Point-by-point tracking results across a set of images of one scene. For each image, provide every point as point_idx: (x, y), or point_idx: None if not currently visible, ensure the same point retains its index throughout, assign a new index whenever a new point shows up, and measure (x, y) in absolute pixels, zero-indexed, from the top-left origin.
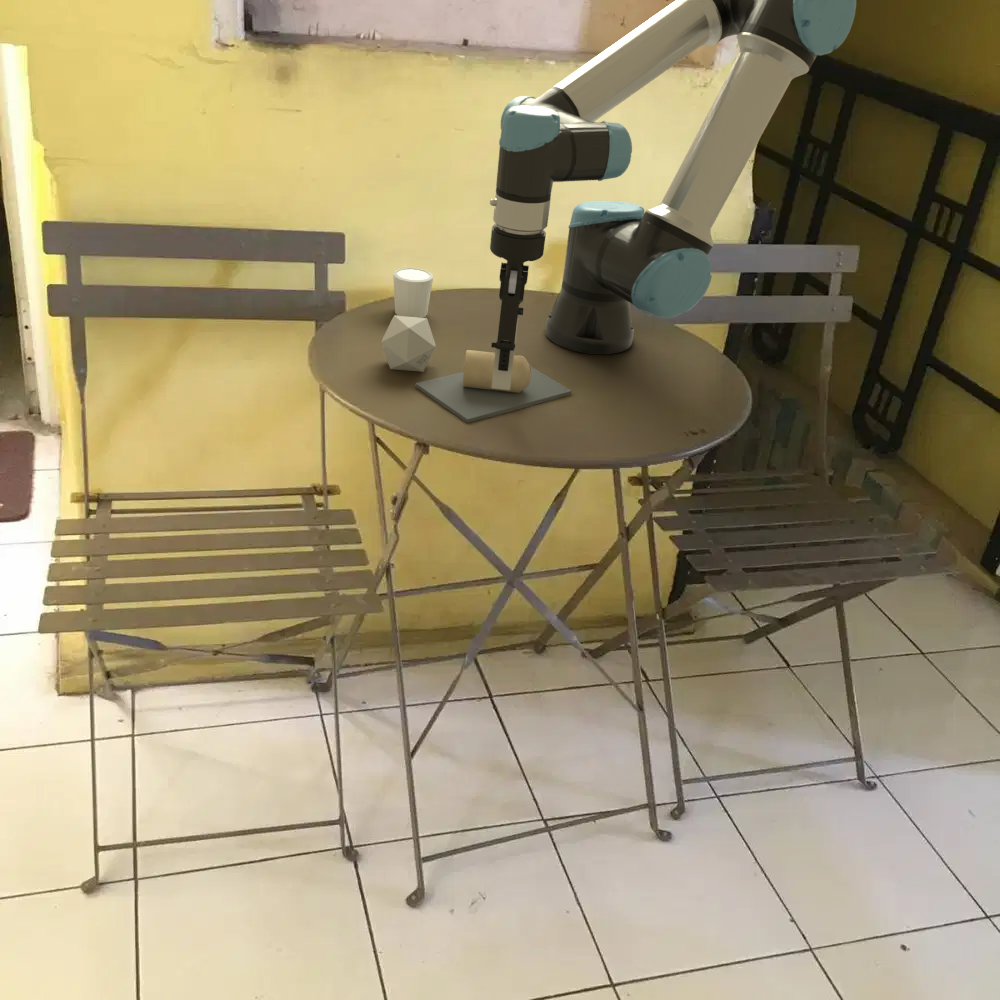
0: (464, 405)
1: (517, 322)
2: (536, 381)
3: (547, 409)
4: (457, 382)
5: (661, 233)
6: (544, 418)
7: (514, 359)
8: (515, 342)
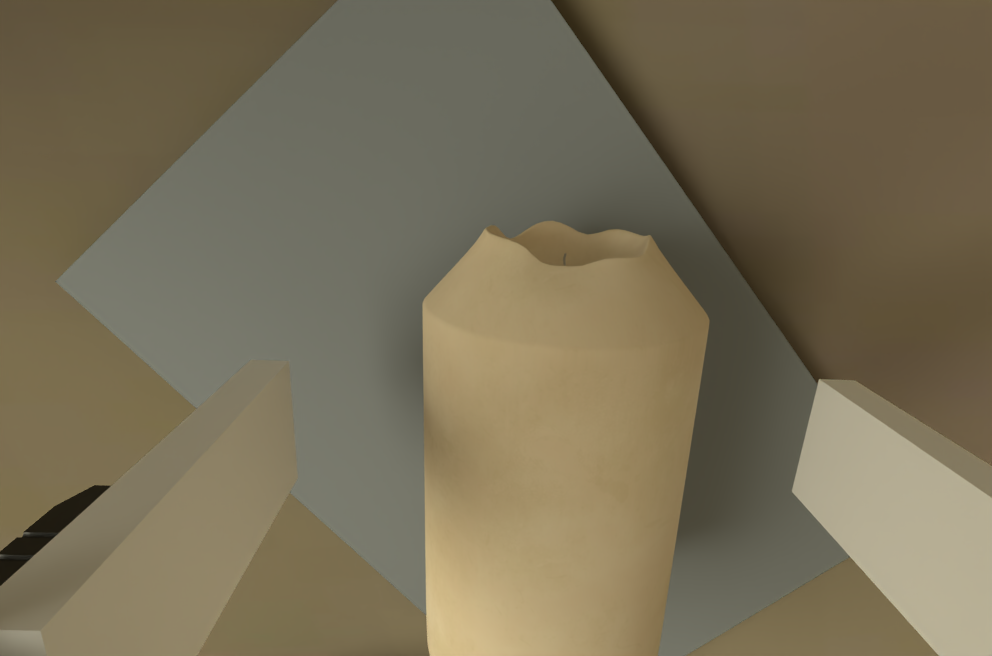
0: (765, 540)
1: (97, 580)
2: (378, 157)
3: (717, 85)
4: None
5: None
6: (840, 109)
7: (628, 423)
8: (231, 421)
